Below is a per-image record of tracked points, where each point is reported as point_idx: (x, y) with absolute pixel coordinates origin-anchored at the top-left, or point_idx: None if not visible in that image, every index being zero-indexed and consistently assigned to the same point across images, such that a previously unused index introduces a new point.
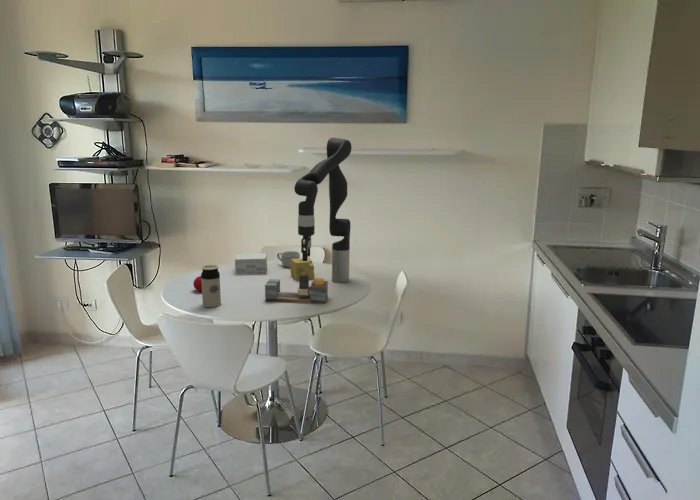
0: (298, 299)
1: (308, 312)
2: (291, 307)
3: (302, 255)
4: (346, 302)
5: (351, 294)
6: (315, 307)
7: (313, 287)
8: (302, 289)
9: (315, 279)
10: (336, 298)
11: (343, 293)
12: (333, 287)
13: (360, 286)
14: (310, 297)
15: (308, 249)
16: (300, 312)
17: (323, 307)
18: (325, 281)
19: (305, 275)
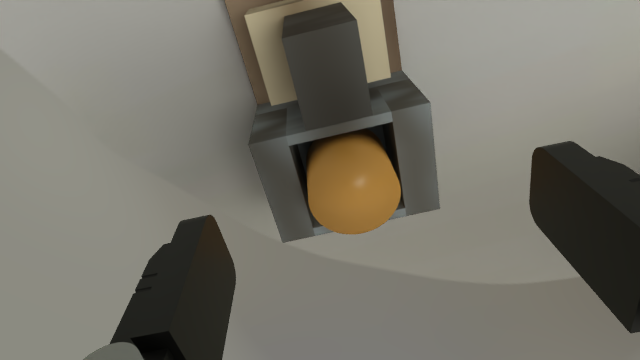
0: (236, 19)
1: (106, 146)
2: (124, 8)
3: (148, 293)
4: (343, 260)
5: (475, 246)
6: (203, 152)
7: (256, 166)
8: (269, 54)
9: (350, 169)
10: None
11: (487, 208)
12: (603, 123)
13: None
14: (256, 113)
15: (626, 293)
16: (77, 104)
17: (224, 190)
18: (421, 200)
19: (333, 95)
